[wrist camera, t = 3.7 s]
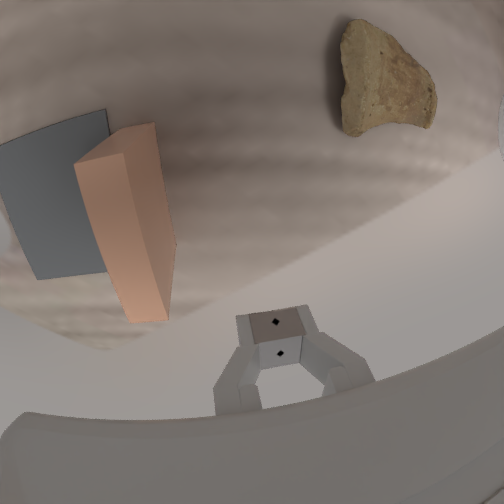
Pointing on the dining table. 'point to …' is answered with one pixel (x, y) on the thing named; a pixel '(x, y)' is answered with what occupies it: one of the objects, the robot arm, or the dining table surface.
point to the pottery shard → (382, 82)
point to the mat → (53, 196)
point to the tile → (131, 219)
